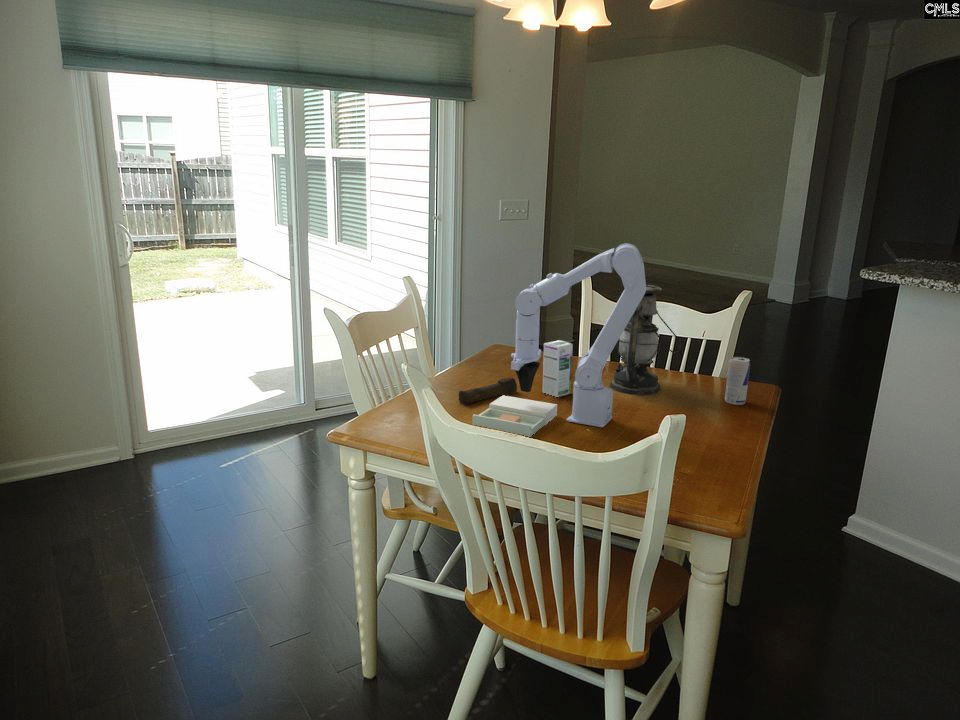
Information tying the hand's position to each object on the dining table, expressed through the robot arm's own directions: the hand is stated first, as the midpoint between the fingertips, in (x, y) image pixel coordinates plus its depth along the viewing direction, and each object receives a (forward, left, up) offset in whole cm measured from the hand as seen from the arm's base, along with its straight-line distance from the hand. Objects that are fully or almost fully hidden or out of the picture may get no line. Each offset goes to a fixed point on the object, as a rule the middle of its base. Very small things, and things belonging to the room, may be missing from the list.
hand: (525, 391), depth 176 cm
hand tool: (+14, -8, -7) cm, 17 cm away
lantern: (-21, -37, -6) cm, 43 cm away
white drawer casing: (0, +1, -6) cm, 6 cm away
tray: (0, +10, -6) cm, 12 cm away
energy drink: (-46, -37, -6) cm, 59 cm away
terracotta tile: (0, +11, -4) cm, 11 cm away
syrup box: (-1, -20, -6) cm, 21 cm away
